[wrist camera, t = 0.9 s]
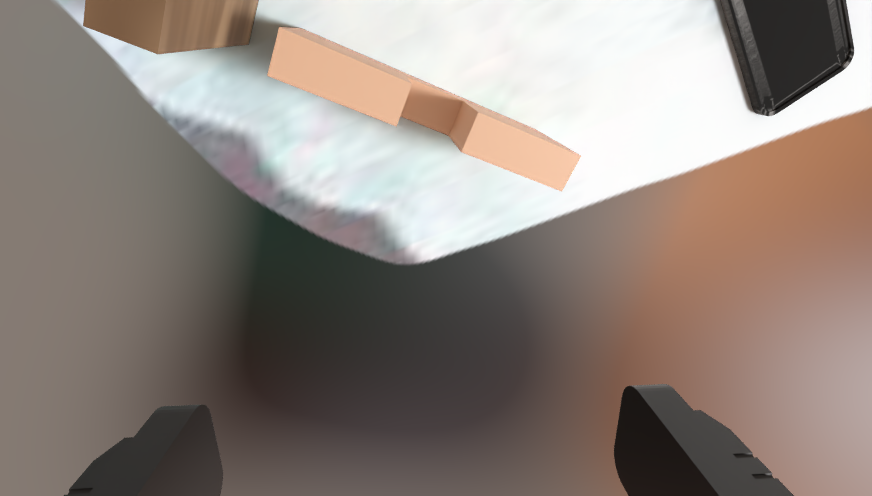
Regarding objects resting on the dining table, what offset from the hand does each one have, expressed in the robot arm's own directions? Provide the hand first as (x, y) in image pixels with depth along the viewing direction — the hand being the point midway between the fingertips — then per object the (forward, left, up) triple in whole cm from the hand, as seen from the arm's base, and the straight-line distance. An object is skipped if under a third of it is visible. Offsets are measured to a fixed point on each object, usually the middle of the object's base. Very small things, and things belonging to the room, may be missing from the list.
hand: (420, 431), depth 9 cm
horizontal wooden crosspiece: (+2, +4, -27) cm, 27 cm away
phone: (+24, +20, -27) cm, 41 cm away
